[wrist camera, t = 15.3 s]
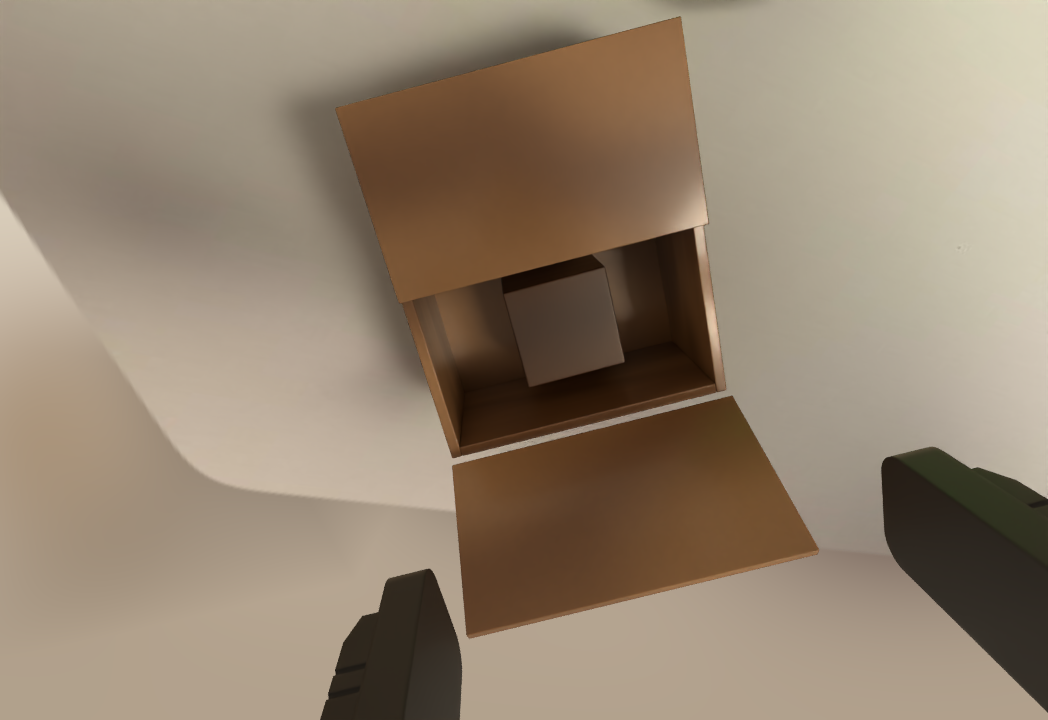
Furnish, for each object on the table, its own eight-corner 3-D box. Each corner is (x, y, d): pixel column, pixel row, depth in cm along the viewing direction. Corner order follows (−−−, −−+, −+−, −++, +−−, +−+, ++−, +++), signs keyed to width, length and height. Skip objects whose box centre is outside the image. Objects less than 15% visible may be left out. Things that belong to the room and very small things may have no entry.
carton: (679, 343, 28) (734, 397, 22) (459, 399, 28) (451, 468, 22) (630, 50, 24) (682, 12, 17) (372, 118, 24) (332, 106, 18)
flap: (732, 395, 22) (732, 400, 22) (451, 464, 22) (454, 469, 22) (820, 550, 17) (818, 554, 17) (466, 636, 17) (468, 639, 18)
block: (606, 333, 27) (626, 363, 23) (522, 356, 27) (528, 388, 23) (588, 249, 26) (605, 265, 22) (499, 273, 26) (502, 293, 22)
